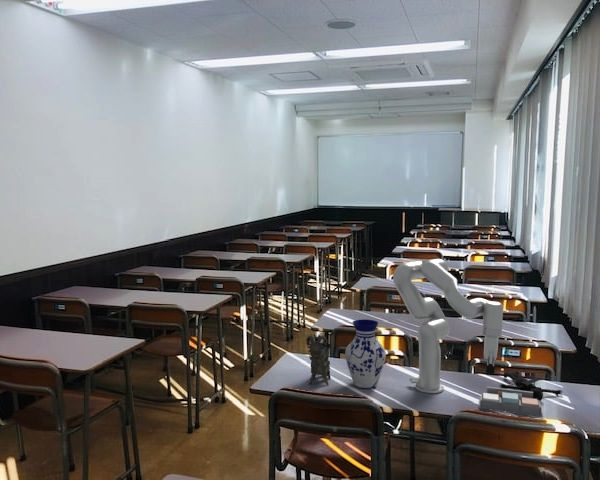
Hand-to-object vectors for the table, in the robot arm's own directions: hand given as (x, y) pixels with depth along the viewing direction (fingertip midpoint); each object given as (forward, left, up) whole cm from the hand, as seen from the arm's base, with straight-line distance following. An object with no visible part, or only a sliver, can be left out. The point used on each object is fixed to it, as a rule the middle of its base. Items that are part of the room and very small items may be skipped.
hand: (490, 373), depth 214 cm
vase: (-55, +6, -14) cm, 57 cm away
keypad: (+8, +1, -14) cm, 16 cm away
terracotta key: (+15, 0, -13) cm, 20 cm away
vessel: (-77, +3, -14) cm, 78 cm away
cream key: (0, 0, -13) cm, 13 cm away
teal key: (+8, 0, -11) cm, 14 cm away
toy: (+15, +23, -15) cm, 31 cm away
